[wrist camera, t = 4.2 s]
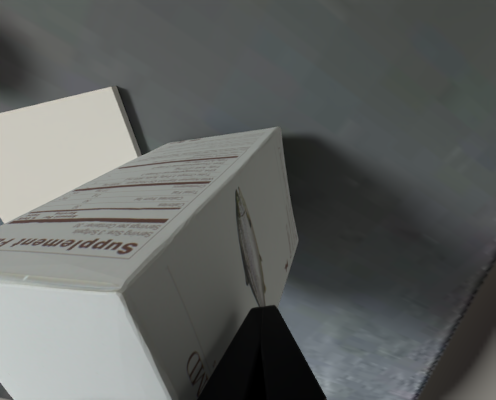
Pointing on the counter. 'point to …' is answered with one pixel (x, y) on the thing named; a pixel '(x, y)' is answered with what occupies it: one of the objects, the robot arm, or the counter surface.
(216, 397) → the robot arm
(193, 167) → the supplement box
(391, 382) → the counter surface
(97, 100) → the mat
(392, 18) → the counter surface
